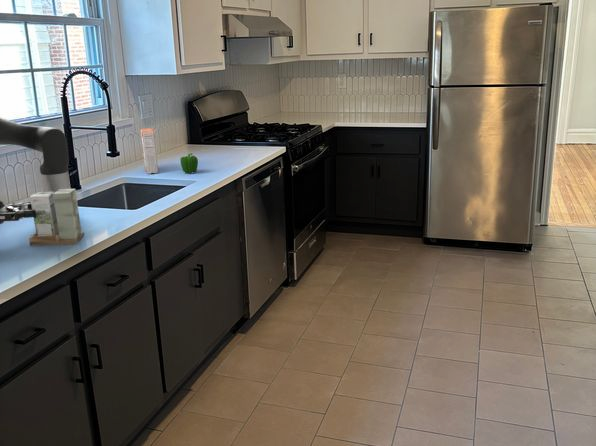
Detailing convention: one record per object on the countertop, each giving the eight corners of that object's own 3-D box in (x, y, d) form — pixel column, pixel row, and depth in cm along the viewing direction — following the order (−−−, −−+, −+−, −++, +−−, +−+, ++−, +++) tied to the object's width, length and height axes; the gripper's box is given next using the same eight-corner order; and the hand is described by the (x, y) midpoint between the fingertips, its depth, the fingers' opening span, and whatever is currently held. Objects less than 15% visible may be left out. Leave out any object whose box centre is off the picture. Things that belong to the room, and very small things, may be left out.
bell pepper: (179, 172, 289) (177, 152, 286) (195, 170, 292) (194, 150, 289) (183, 175, 281) (182, 154, 279) (200, 173, 285) (198, 153, 282)
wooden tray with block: (40, 236, 193) (32, 189, 188) (84, 235, 194) (77, 187, 189) (30, 245, 185) (21, 195, 180) (75, 243, 185) (68, 194, 180)
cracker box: (144, 169, 297) (140, 128, 291) (156, 168, 299) (152, 127, 293) (146, 174, 284) (141, 132, 278) (158, 173, 286) (154, 131, 280)
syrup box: (60, 233, 192) (54, 190, 187) (54, 239, 186) (47, 195, 182) (43, 234, 191) (36, 191, 187) (36, 240, 186) (29, 196, 181)
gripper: (-25, 207, 176) (31, 204, 178) (-8, 196, 189) (44, 193, 191) (-21, 231, 178) (35, 227, 180) (-4, 218, 192) (47, 215, 194)
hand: (39, 209), depth 186 cm, fingers open, 8 cm apart
